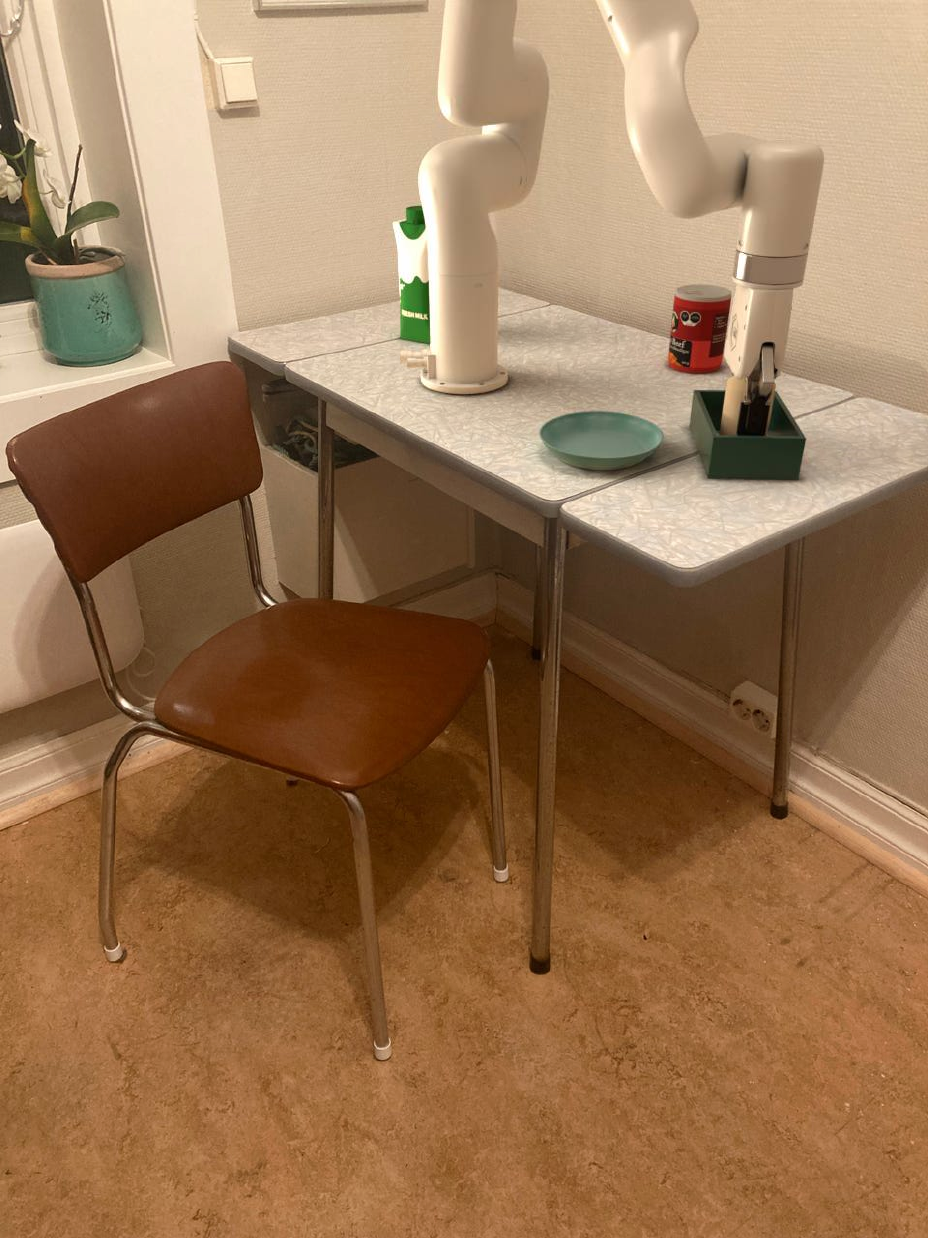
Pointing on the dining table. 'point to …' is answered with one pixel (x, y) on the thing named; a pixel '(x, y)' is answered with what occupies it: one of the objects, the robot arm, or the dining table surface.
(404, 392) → the dining table surface
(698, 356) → the canned food
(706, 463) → the case
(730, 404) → the candle
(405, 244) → the milk carton
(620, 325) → the dining table surface
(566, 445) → the saucer
